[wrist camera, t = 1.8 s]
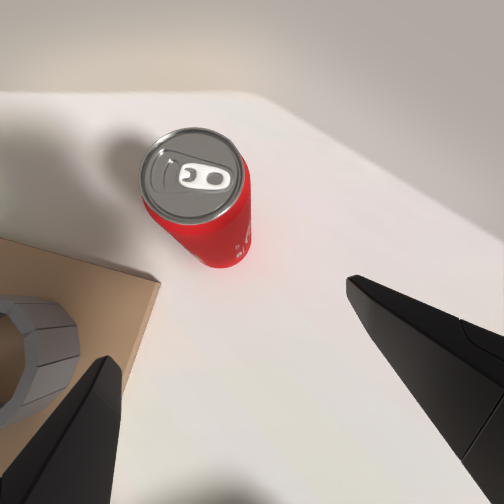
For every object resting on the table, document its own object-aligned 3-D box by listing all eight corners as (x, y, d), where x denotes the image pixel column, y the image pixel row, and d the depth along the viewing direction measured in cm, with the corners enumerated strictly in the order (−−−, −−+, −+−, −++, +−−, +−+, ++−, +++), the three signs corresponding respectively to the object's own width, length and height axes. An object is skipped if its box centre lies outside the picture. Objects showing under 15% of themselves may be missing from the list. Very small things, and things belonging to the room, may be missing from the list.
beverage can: (199, 210, 24) (148, 115, 12) (255, 218, 24) (258, 130, 12) (188, 265, 23) (119, 220, 11) (246, 274, 23) (240, 238, 11)
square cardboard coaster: (161, 283, 22) (134, 276, 17) (88, 493, 19) (28, 560, 14) (-7, 236, 23) (-80, 215, 18) (-104, 428, 20) (-226, 469, 15)
